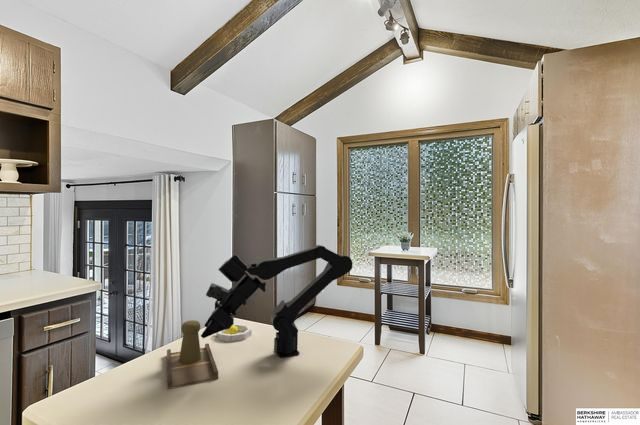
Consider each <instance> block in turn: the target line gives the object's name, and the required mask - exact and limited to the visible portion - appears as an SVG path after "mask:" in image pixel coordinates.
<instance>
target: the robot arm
mask: <svg viewBox="0 0 640 425" xmlns="http://www.w3.org/2000/svg"><path fill="white" fill-rule="evenodd" d="M319 259H322V260H323V261H325V262H326V265H325V267H324V269H323V271H322V272H321V273H319V274H318V275H317V276H316V277H315V278H314V279H312V281H311V282H309V284H307V285H306V286H305V287H304V288H303V289H301V291H300V292H299V293H297V295H295V296H294V297H293V298H292V299H291V300H288V301H286V302H285V300H283V299H282V300H281V301H280V302H279V303H278V305H277V306H274V307H273V308H272V309H273V311H271V314H270V321H271V323H272V326H273V328H274V330H275V331H276V332H275V337H274V340H273V343H274V344H273V351H274V352H275V354H277V355H276V356H278V357H279V359H280V358H286V357H293V356H297V355H300V351H299V350H298V342H299V340H298V337H299V336H298V334H299V328H298V327H297V325H296V324H295V322H296V320H297V318H298V316H299V314H300V313H301V311H302V310H303V309H304V308H305V307H306V306H307V305H308V304H310V303H311V301H313V300H314V299H315V298H316V297H317V296H318V295H319V294H320V293H322V291H323V290H324V289H325V288H326V287H327V286H329V285H330V284H331V283H332V282H333V281H335V280H338V279H340V278H342V277H343V276H345V275H348V273H350V272H351V270H353V260H352V258H351V257H349V256H347V255H345V254H342V253H336V252H334V251H332V250H330V249H328V248H326V247H325V246H324V245H320V244H316V245H315V246H313V247H309V248H307V249H302V250H301V251H297V252H294V253H291V254H288V255H285V256H280V257H269V258H262V259H260V260H258V261H257V263H249V264H246V263H245V262H243V261H242V260H241V258H240V257H239V255H237V254H236V253H234V254H233V255H232V256H231V257H230V258H228V260H226V261H224V262H223V263H222V265H221V266H220V267H219V268H218V269H217V270H218V271H219V272H220V274H222V275H223V276H224V277H225V278H226V279H227V280H228V281H230V282H231V283H233V282H234V283H235V282H236V283H237V284H236V285H235V286H234V287H233V286H231V287H230V288H229V289H228V288H226V287H223V286H220V285H219V284H215V283H214V282H213V283H212V282H211V283H210V286H209V287H208V290H207V291H206V293H205V296H206V297H208V298H212V299H215V301H214V310H213V311H212V312H211V314H210V316H209V317H208V319H207V320H206V322H205V323H204V327H205V329H204V330H203V331H202V334H200V337H201V338H202V339H205V338H208V337H210V336H213V335H215V334H217V332H220V331H222V330H226V329H229V328H230V327H231V326H232V325H233V324H235V323H234V320H235V315H237V313H238V311H239V310H240V309H241V308H242V306H245V305H246V304H247V303H248V302H247V301H249V299H250V298H251V297H252V296H253V295H254V294H255V293H256V292H257V291H258V290H259V289H260V290H261V291H262V292H264V293H265V292H266V286H267V282H266V281H268V280H270V279H273V278H274V277H276V276H278V275H280V274H281V273H282V272H284V271H286V270H288V269H292V268H294V267H297V266H300V265H304V264H306V263H309V262H312V261H315V260H319ZM261 280H263V281H261Z"/></svg>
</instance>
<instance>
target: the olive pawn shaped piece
mask: <svg viewBox="0 0 640 425" xmlns="http://www.w3.org/2000/svg"><path fill="white" fill-rule="evenodd" d="M180 328H181V329H180V330H181V333H182V334H183V335H182V340H181V347H180V351H179V352H180V357H179V362H180V363H183V364H190V363H195V362H197V361H199V360H200V359H201V352H200V348H201V345H200V344H201V343H200V337H199V335H200V334H199V332H200V330H201V322H199V320H194V319H193V320H187V321H185V322H183V323H182V325H181V327H180Z"/></svg>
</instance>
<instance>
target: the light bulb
mask: <svg viewBox="0 0 640 425" xmlns="http://www.w3.org/2000/svg"><path fill="white" fill-rule="evenodd" d="M224 333H225V334H238V328H237V327H236V326H231V327H230V328H229V329H228V330H226V331H225V332H224Z"/></svg>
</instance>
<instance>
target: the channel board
mask: <svg viewBox="0 0 640 425" xmlns="http://www.w3.org/2000/svg"><path fill="white" fill-rule="evenodd" d="M210 347H211V346H210V344H209V343H205V344H204V347H200V352H201V359H200V360H199V361H197V362H195V363H190V364H183V363H180V362H179V357H180V351H175V352H172V349H170V348H169V349H166V377H167V378H166V379H167V381H166V382H167V384H166V385H167V388H166V389H167V390H169V389H175V388H179V387H185V386H189V385H193V384H199V383H204V382H205V383H206V382H209V381H215V380H218V379H219V370H218V368H217V367H218V366H217V364H216V361H215V358H214V354H213V353H212V350H211V348H210Z"/></svg>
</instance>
